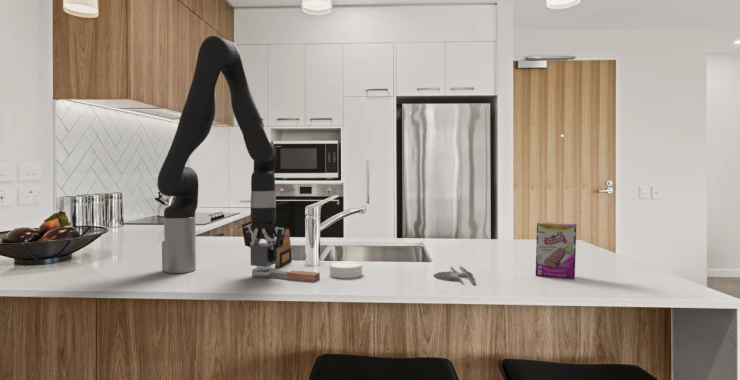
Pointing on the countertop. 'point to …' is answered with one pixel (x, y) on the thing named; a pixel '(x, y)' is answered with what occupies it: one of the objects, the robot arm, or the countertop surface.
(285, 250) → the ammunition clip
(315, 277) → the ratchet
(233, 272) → the countertop surface
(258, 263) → the socket
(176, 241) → the robot arm
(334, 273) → the coaster
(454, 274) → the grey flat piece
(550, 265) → the candy bar box
